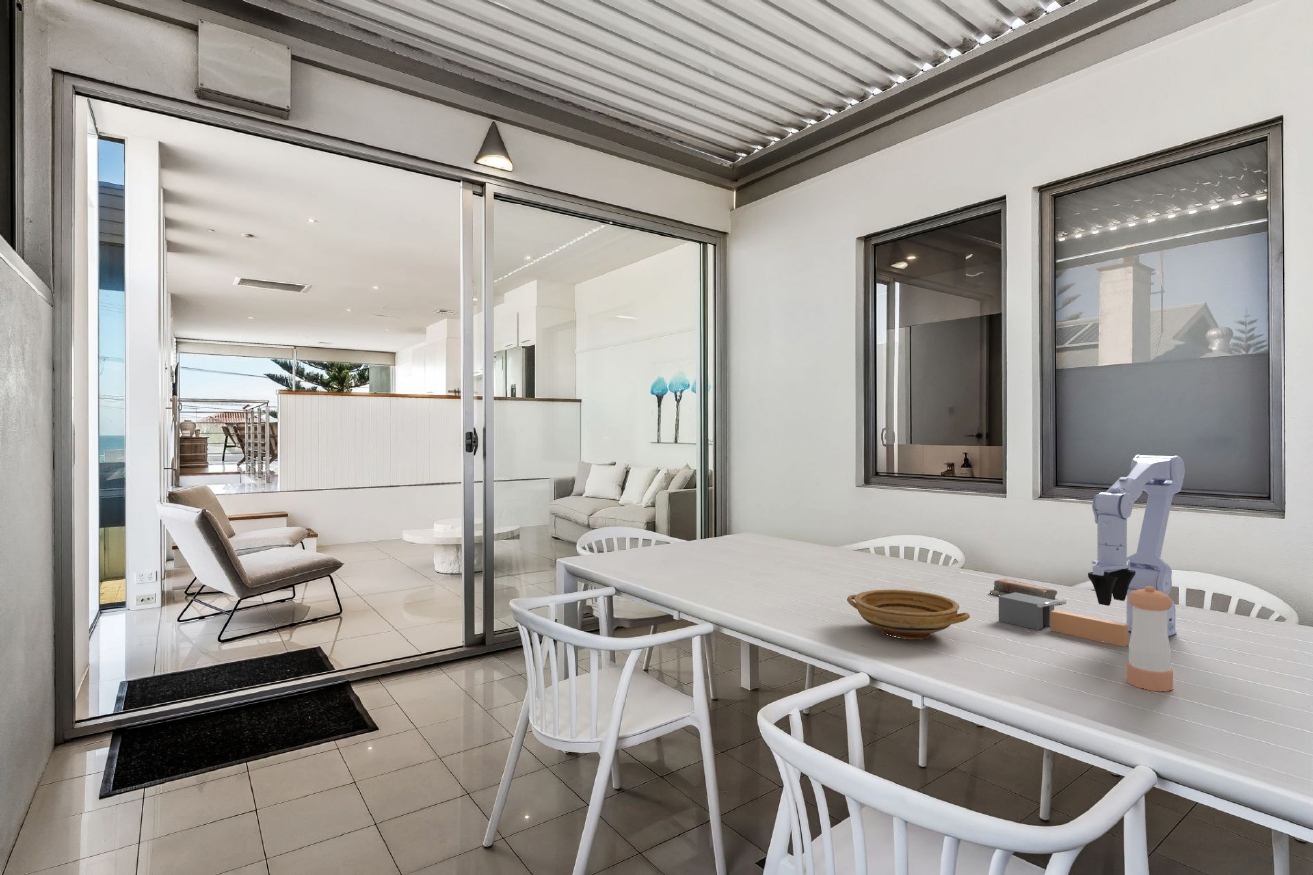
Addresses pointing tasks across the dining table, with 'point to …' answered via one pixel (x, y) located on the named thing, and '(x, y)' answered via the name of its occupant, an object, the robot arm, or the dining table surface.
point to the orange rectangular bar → (1089, 627)
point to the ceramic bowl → (907, 612)
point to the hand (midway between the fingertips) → (1111, 602)
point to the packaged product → (1023, 589)
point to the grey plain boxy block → (1026, 610)
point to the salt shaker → (1149, 641)
